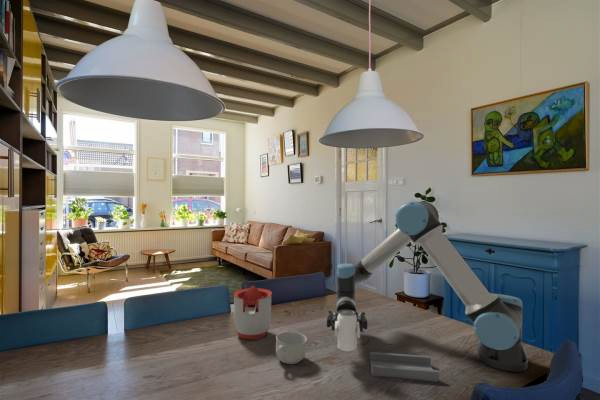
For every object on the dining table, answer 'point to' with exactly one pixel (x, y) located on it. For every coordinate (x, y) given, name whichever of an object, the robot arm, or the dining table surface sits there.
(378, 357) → the tray
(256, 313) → the citrus juicer
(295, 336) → the teacup
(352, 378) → the dining table surface
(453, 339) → the dining table surface
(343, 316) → the can
